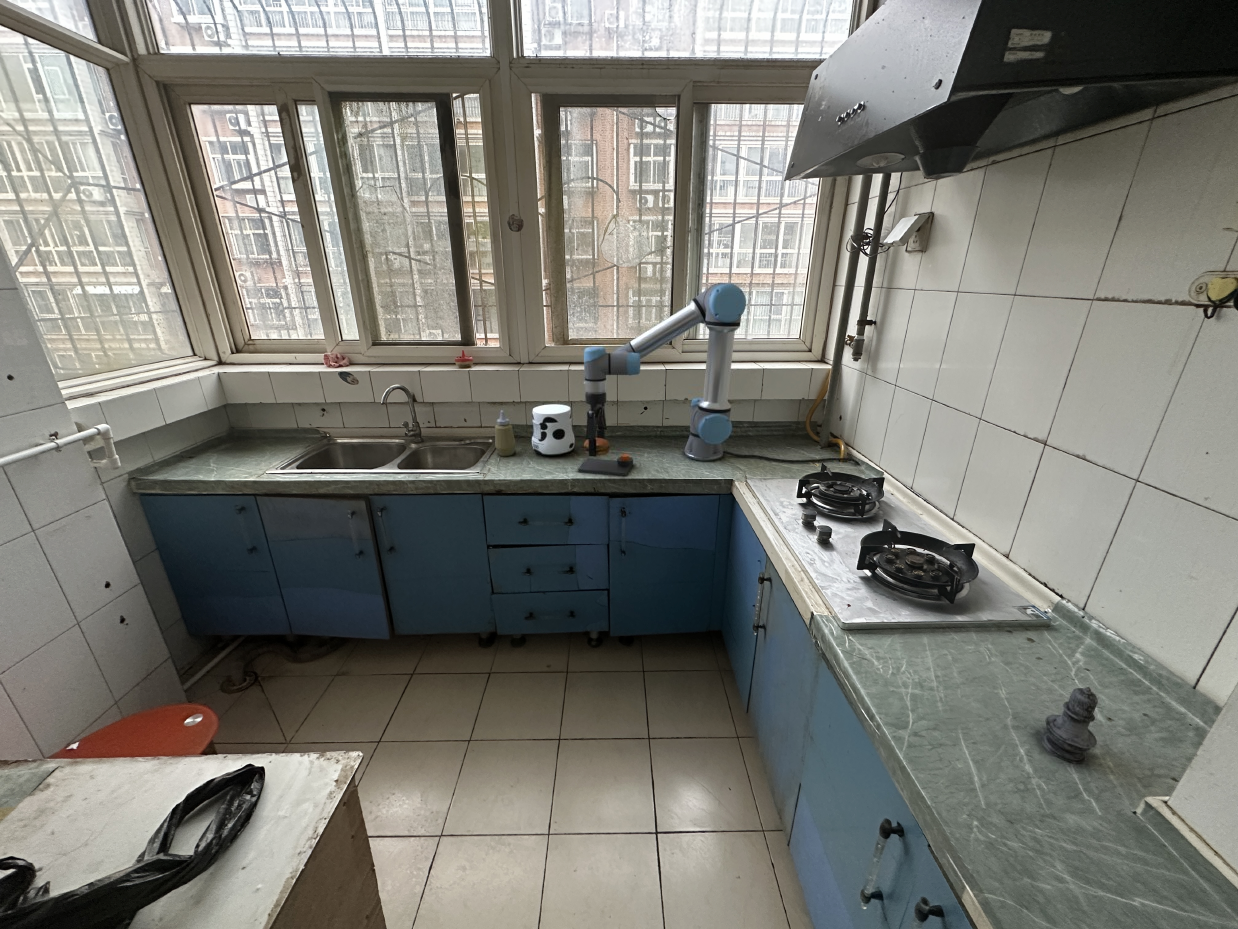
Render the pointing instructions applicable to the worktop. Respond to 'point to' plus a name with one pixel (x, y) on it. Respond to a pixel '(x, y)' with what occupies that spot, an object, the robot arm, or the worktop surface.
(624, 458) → the tare button
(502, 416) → the squeeze bottle
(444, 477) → the worktop surface
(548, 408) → the milk container
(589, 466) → the scale
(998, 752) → the worktop surface
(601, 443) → the burger
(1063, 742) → the dark grey chess piece
